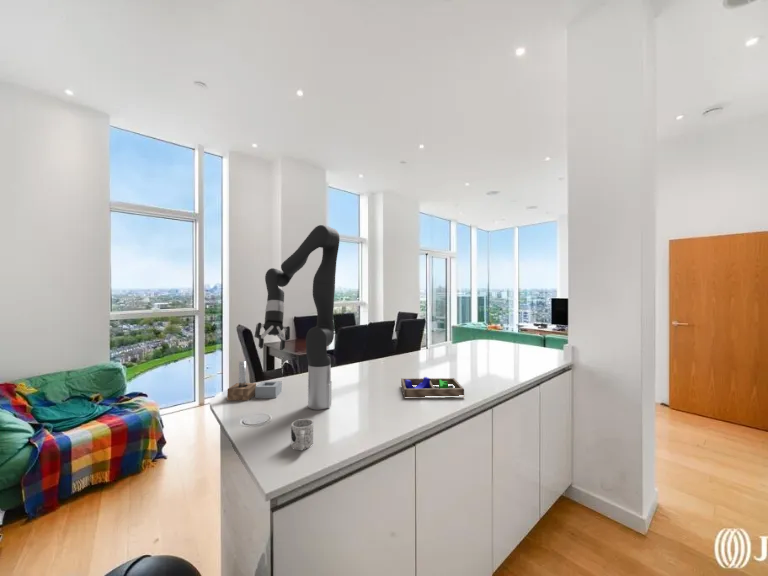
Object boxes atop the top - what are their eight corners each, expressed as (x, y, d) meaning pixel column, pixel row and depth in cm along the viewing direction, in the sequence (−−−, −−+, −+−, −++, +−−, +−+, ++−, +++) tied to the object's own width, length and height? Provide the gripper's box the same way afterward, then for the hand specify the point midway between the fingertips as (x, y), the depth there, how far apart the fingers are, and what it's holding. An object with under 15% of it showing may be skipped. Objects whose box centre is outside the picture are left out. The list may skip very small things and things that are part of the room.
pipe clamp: (448, 396, 144) (448, 386, 145) (440, 395, 145) (440, 386, 145) (446, 388, 156) (446, 379, 156) (439, 388, 156) (439, 379, 156)
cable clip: (424, 388, 155) (424, 376, 155) (429, 390, 151) (429, 378, 151) (403, 391, 149) (403, 379, 149) (408, 394, 145) (408, 381, 145)
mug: (291, 440, 100) (291, 419, 100) (313, 438, 101) (313, 418, 101) (289, 456, 90) (289, 433, 90) (313, 454, 92) (313, 431, 92)
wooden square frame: (256, 393, 146) (256, 383, 146) (248, 400, 137) (248, 388, 137) (236, 393, 146) (236, 383, 146) (227, 400, 137) (227, 389, 137)
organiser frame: (454, 386, 159) (454, 378, 159) (464, 397, 141) (464, 389, 141) (401, 386, 159) (401, 378, 159) (404, 398, 141) (404, 389, 141)
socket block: (281, 391, 150) (281, 381, 150) (275, 397, 141) (275, 386, 141) (262, 391, 149) (262, 381, 149) (255, 398, 140) (255, 386, 140)
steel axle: (246, 395, 143) (247, 360, 144) (244, 398, 140) (244, 362, 141) (240, 396, 143) (240, 360, 143) (237, 398, 140) (237, 362, 140)
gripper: (261, 307, 130) (257, 346, 124) (293, 312, 139) (291, 348, 133) (255, 312, 135) (251, 349, 129) (286, 316, 144) (284, 351, 138)
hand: (271, 349), depth 131 cm, fingers open, 8 cm apart
